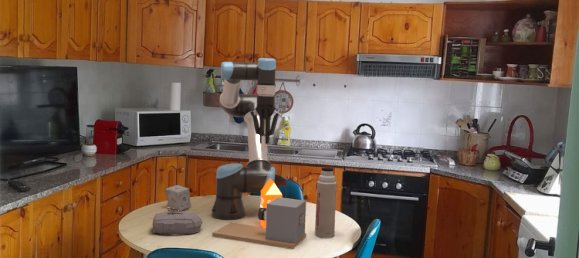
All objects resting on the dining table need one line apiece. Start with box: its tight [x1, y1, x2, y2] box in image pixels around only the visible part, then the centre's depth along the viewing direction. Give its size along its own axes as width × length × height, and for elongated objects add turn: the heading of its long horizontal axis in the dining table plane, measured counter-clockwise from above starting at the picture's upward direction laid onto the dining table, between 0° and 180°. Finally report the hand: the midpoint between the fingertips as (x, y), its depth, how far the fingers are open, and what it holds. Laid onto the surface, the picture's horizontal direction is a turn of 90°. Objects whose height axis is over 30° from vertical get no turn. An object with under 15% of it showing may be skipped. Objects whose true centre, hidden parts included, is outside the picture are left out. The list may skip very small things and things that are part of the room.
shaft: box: [257, 207, 306, 224], centre depth 209 cm, size 18×5×5 cm, turn 70°
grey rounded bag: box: [152, 209, 203, 235], centre depth 217 cm, size 15×8×20 cm
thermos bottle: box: [314, 166, 338, 239], centre depth 217 cm, size 8×8×28 cm
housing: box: [212, 197, 307, 250], centre depth 212 cm, size 34×16×16 cm, turn 70°
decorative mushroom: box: [274, 174, 288, 192], centre depth 263 cm, size 11×11×15 cm
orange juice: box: [259, 179, 283, 227], centre depth 228 cm, size 8×9×20 cm
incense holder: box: [164, 184, 192, 211], centre depth 249 cm, size 10×8×10 cm
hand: (264, 151), depth 224 cm, fingers closed
